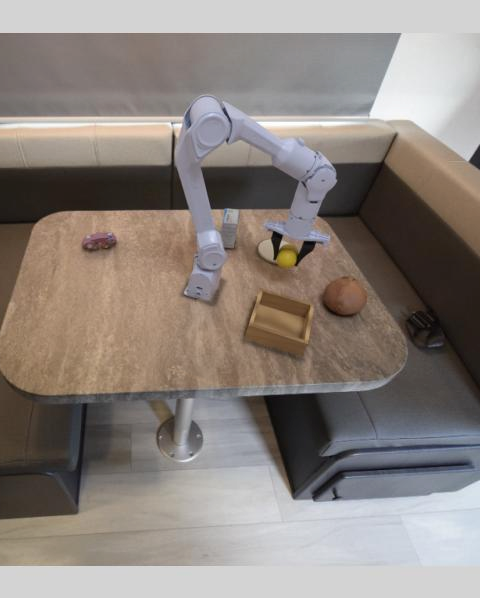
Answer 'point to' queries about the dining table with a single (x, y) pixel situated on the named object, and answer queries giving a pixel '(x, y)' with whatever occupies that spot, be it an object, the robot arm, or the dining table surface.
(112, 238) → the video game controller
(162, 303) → the dining table surface
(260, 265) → the dining table surface
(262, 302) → the crate
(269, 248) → the plate
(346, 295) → the onion
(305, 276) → the dining table surface
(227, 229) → the medicine box
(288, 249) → the lemon
